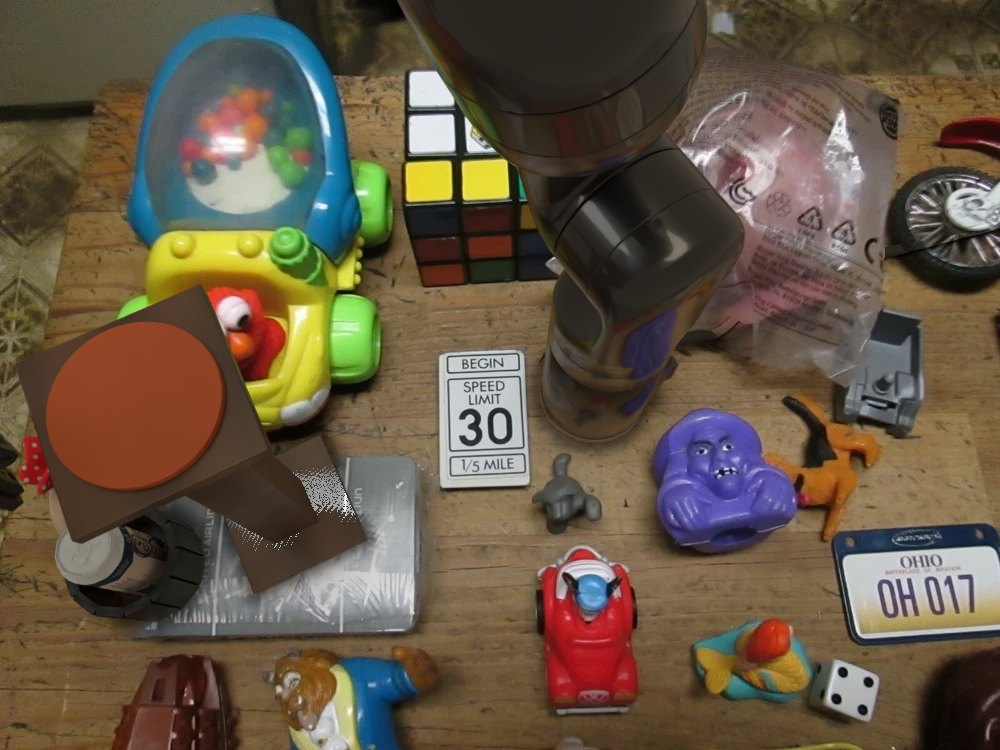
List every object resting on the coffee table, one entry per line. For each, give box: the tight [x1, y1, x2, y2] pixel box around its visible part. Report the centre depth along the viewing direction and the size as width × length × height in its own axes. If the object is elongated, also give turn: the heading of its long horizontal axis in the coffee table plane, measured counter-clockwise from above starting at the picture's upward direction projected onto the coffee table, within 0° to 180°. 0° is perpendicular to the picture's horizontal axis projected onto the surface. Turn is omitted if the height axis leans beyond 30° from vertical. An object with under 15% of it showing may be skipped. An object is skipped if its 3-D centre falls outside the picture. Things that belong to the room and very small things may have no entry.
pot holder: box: [46, 322, 225, 491], centre depth 41 cm, size 9×9×1 cm
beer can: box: [54, 525, 169, 597], centre depth 63 cm, size 5×5×12 cm
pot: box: [63, 508, 206, 623], centre depth 66 cm, size 9×9×6 cm
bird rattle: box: [17, 435, 67, 536], centre depth 67 cm, size 6×11×9 cm
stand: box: [14, 283, 369, 596], centre depth 56 cm, size 10×10×31 cm
